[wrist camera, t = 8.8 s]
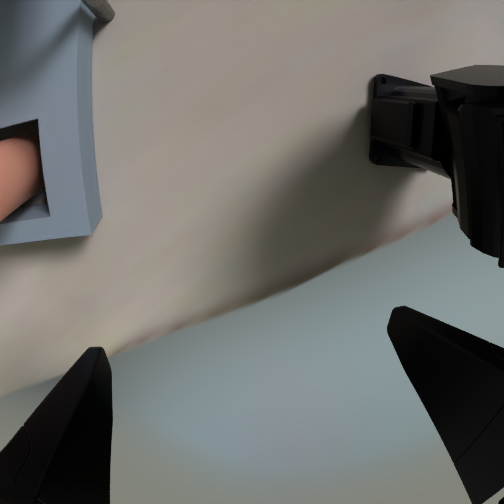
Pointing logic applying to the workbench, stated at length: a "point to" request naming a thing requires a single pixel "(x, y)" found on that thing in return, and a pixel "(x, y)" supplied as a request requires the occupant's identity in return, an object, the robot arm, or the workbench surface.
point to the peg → (19, 172)
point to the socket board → (51, 113)
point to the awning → (100, 9)
